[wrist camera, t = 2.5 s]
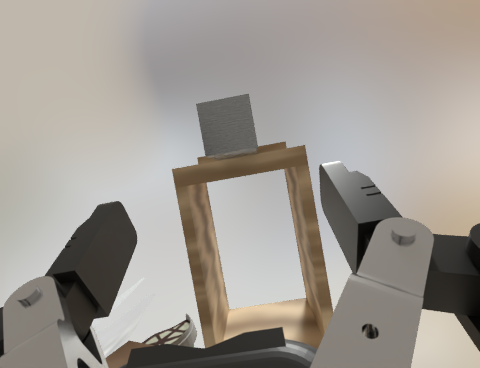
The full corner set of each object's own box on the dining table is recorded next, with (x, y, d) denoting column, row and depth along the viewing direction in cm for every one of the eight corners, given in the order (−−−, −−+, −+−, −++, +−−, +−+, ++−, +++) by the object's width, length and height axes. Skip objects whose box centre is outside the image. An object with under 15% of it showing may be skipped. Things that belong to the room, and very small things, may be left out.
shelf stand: (355, 443, 30) (301, 125, 29) (225, 459, 31) (168, 150, 30) (320, 349, 46) (284, 142, 45) (235, 360, 47) (198, 158, 45)
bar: (257, 146, 21) (248, 93, 21) (205, 156, 21) (196, 104, 21) (256, 159, 43) (251, 133, 43) (230, 164, 43) (225, 138, 43)
